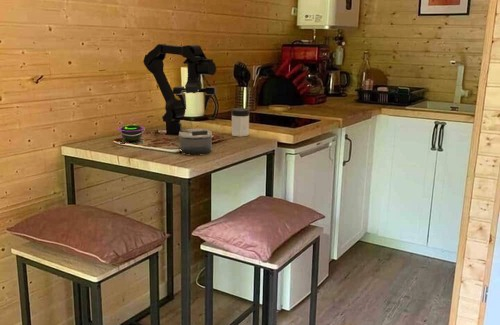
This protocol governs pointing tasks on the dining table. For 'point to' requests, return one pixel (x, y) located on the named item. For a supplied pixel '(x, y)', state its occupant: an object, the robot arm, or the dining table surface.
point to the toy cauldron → (132, 134)
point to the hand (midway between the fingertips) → (195, 109)
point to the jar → (240, 122)
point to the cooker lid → (195, 133)
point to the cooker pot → (196, 145)
